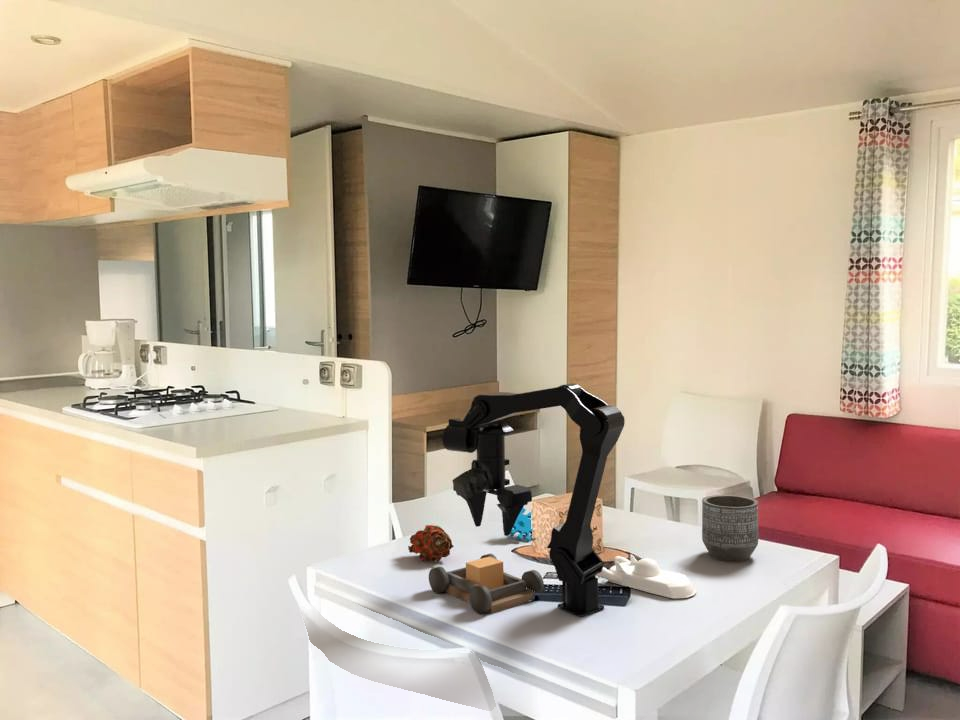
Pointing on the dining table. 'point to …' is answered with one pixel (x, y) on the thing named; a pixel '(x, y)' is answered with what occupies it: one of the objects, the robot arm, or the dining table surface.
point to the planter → (730, 526)
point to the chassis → (480, 594)
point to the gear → (522, 526)
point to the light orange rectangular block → (485, 572)
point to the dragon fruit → (431, 543)
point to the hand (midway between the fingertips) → (492, 530)
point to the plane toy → (648, 577)
